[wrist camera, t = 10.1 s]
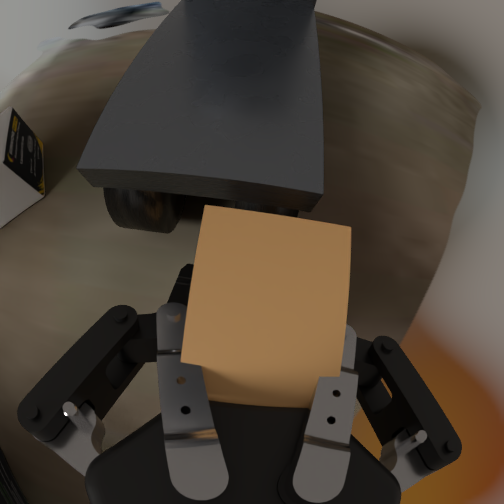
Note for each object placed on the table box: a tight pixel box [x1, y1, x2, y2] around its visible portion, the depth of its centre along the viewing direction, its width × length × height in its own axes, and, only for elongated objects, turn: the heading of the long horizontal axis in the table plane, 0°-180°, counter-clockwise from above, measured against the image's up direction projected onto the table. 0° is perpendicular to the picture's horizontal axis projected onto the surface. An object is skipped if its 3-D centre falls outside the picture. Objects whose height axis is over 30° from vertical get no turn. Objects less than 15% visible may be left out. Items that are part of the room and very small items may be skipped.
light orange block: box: [181, 205, 351, 408], centre depth 12 cm, size 4×6×10 cm
